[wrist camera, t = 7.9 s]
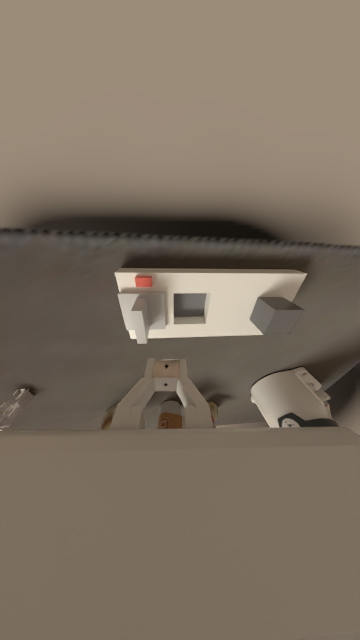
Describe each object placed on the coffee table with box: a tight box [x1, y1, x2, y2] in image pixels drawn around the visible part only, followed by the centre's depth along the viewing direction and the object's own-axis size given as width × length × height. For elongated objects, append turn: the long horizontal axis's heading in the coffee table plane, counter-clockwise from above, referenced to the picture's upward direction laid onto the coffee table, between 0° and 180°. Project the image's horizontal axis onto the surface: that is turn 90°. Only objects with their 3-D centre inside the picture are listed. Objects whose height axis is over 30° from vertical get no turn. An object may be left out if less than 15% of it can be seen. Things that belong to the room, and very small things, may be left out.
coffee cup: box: [158, 401, 182, 429], centre depth 36 cm, size 8×8×15 cm
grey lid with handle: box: [118, 292, 166, 344], centre depth 18 cm, size 6×6×4 cm
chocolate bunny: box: [207, 402, 218, 428], centre depth 40 cm, size 6×8×10 cm
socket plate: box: [115, 268, 307, 339], centre depth 21 cm, size 26×11×3 cm, turn 89°
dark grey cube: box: [250, 297, 305, 335], centre depth 20 cm, size 4×4×4 cm
